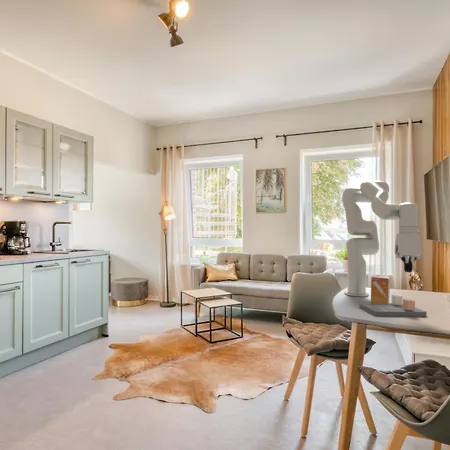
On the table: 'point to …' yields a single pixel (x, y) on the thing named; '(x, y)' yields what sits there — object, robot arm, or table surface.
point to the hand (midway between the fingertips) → (408, 271)
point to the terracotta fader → (408, 304)
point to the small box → (380, 289)
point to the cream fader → (397, 299)
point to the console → (390, 310)
